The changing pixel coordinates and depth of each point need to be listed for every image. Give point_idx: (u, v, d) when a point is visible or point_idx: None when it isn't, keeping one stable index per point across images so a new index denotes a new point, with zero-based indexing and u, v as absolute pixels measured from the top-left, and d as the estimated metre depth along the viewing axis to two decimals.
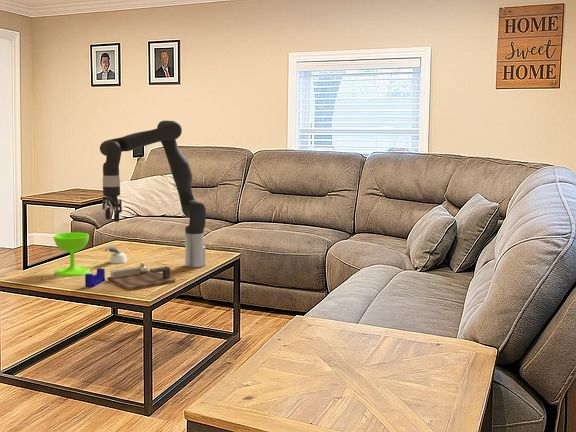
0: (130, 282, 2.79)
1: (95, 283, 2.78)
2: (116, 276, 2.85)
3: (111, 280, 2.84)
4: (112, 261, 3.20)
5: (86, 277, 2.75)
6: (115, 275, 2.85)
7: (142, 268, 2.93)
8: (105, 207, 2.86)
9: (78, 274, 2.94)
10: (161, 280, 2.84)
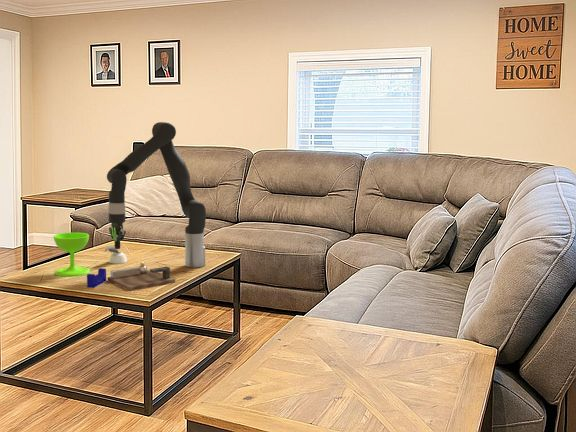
0: (130, 282, 2.79)
1: (97, 283, 2.78)
2: (116, 276, 2.85)
3: (111, 280, 2.84)
4: (112, 261, 3.20)
5: (88, 277, 2.74)
6: (115, 275, 2.85)
7: (142, 268, 2.93)
8: (113, 235, 2.92)
9: (78, 274, 2.94)
10: (161, 280, 2.84)
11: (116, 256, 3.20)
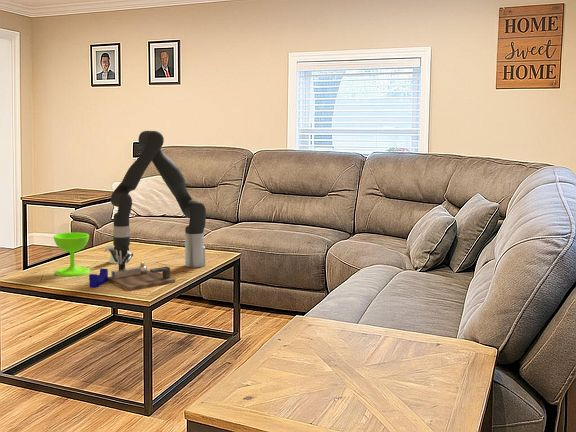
0: (130, 282, 2.79)
1: (99, 283, 2.78)
2: (117, 276, 2.85)
3: (111, 280, 2.84)
4: (112, 261, 3.19)
5: (90, 277, 2.74)
6: (116, 275, 2.84)
7: (142, 268, 2.94)
8: (118, 258, 2.89)
9: (78, 274, 2.94)
10: (161, 280, 2.84)
11: None
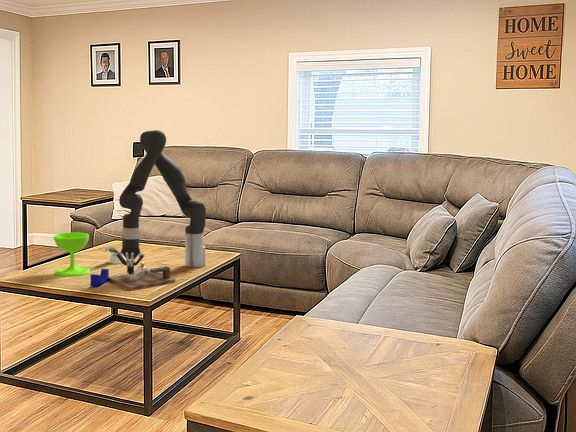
0: (130, 282, 2.79)
1: (100, 283, 2.78)
2: (137, 279, 2.82)
3: (111, 280, 2.84)
4: (112, 261, 3.19)
5: (91, 278, 2.74)
6: (137, 278, 2.81)
7: (145, 268, 2.94)
8: (128, 261, 2.84)
9: (78, 274, 2.94)
10: (161, 280, 2.84)
11: (116, 256, 3.19)
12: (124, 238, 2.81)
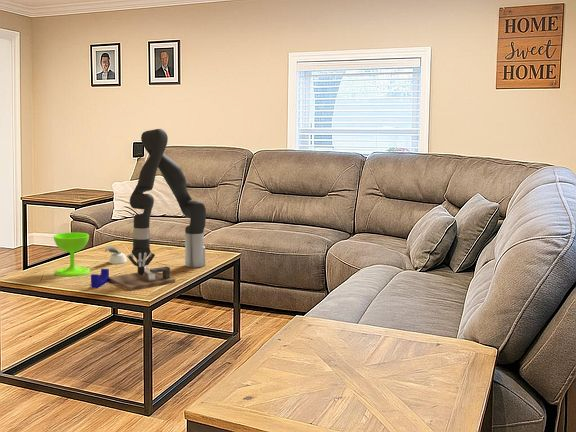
0: (130, 282, 2.79)
1: (100, 283, 2.77)
2: None
3: (111, 280, 2.84)
4: (112, 261, 3.19)
5: (92, 278, 2.74)
6: None
7: (146, 267, 2.95)
8: (141, 261, 2.84)
9: (78, 274, 2.94)
10: (161, 280, 2.84)
11: (116, 256, 3.19)
12: (139, 239, 2.80)
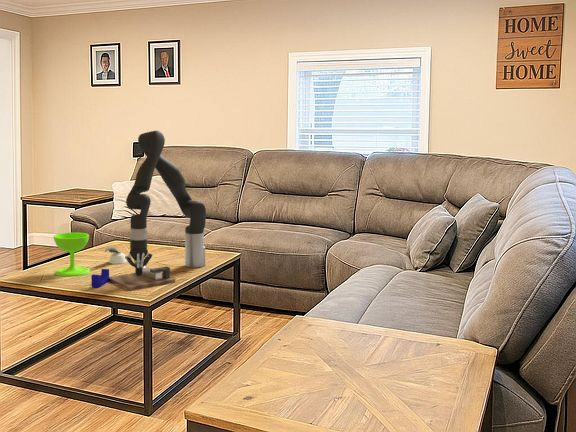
0: (130, 282, 2.79)
1: (101, 284, 2.77)
2: None
3: (111, 280, 2.84)
4: (112, 261, 3.19)
5: (92, 278, 2.74)
6: None
7: (147, 267, 2.96)
8: (139, 262, 2.82)
9: (78, 274, 2.94)
10: (161, 280, 2.84)
11: (116, 256, 3.19)
12: (137, 239, 2.78)
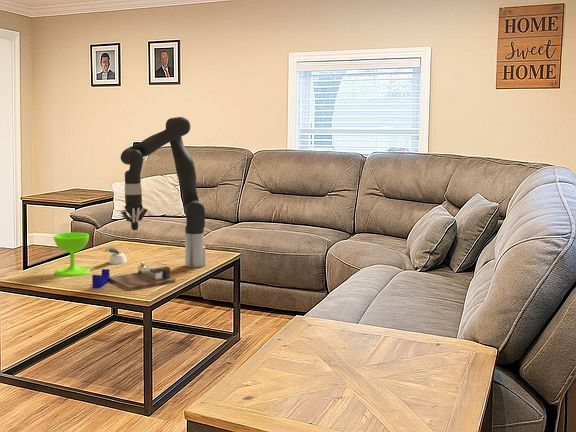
0: (130, 282, 2.79)
1: (102, 284, 2.77)
2: None
3: (111, 280, 2.84)
4: (112, 261, 3.19)
5: (93, 278, 2.73)
6: None
7: (147, 267, 2.96)
8: (134, 216, 2.88)
9: (78, 274, 2.94)
10: (161, 280, 2.84)
11: (116, 256, 3.19)
12: (132, 194, 2.84)
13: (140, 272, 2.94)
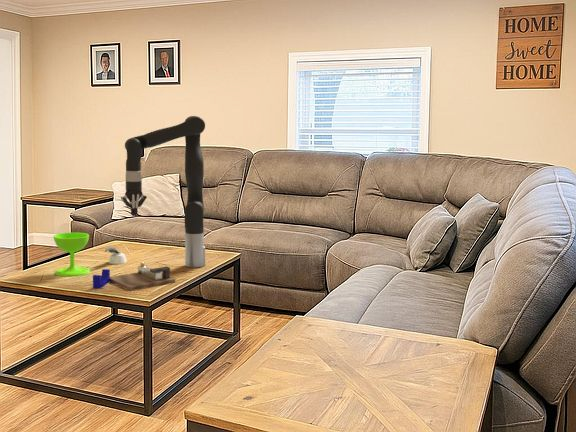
0: (130, 282, 2.79)
1: (102, 284, 2.77)
2: None
3: (111, 280, 2.84)
4: (112, 262, 3.19)
5: (94, 278, 2.73)
6: None
7: (147, 267, 2.96)
8: (134, 202, 3.01)
9: (78, 274, 2.94)
10: (161, 280, 2.84)
11: (116, 256, 3.19)
12: (132, 181, 2.97)
13: (140, 272, 2.94)
